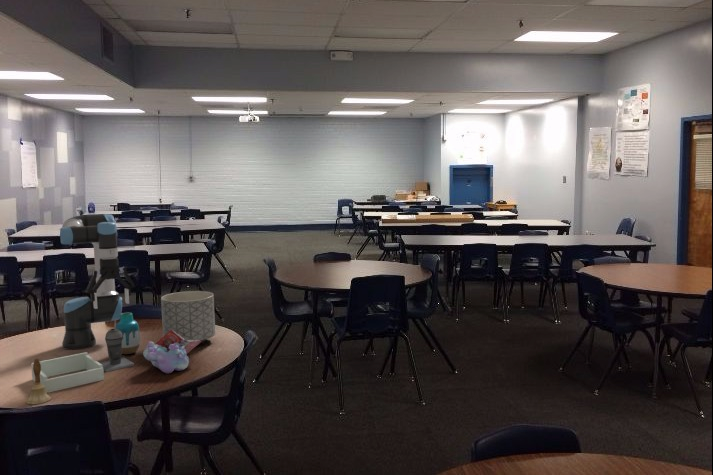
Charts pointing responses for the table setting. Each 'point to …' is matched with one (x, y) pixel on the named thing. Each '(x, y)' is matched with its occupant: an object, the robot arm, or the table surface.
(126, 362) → the slate tile
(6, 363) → the table surface
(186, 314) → the planter
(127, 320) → the vase
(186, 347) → the pastel lumpy cloud blob
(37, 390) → the hand bell
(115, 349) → the beverage cup
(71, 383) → the frame
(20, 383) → the table surface
